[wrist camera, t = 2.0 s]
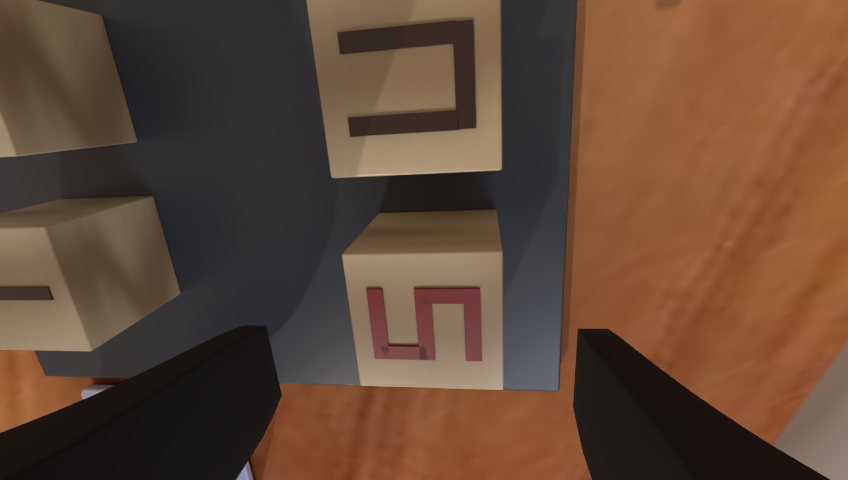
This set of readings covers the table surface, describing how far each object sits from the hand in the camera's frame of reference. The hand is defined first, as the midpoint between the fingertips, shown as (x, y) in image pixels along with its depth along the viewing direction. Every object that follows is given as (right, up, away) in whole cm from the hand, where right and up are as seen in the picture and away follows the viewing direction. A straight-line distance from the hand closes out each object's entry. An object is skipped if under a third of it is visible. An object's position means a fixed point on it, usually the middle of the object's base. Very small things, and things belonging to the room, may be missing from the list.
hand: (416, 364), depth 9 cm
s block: (+1, +2, +6) cm, 6 cm away
